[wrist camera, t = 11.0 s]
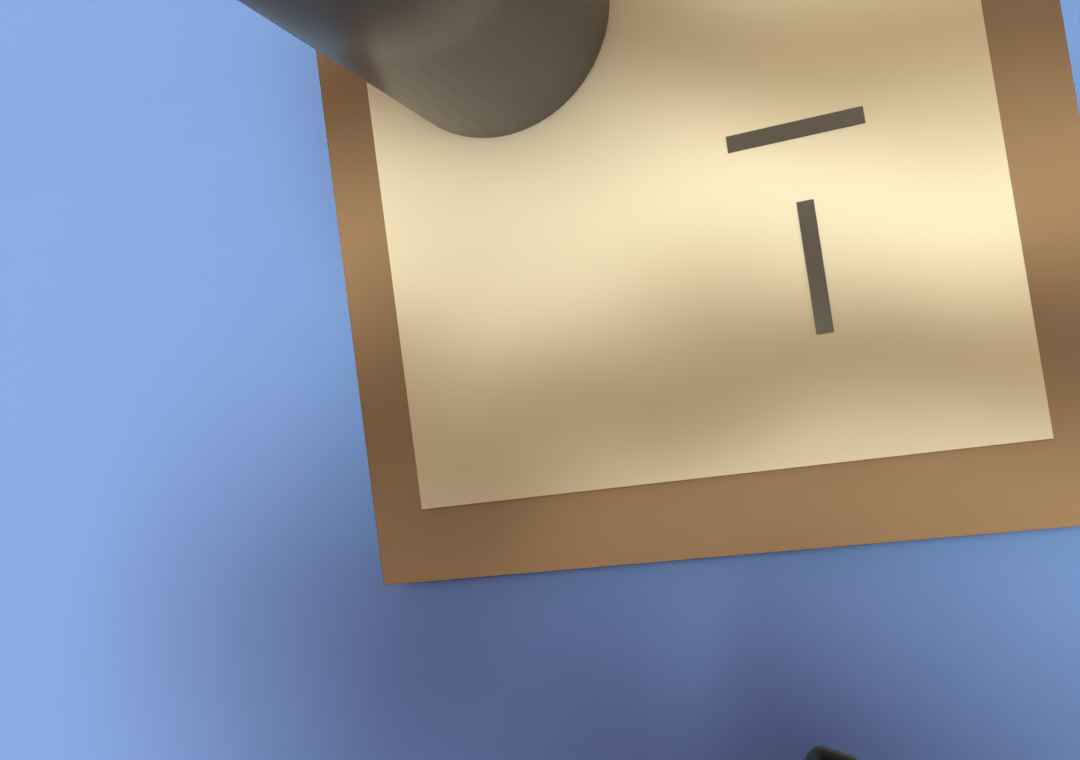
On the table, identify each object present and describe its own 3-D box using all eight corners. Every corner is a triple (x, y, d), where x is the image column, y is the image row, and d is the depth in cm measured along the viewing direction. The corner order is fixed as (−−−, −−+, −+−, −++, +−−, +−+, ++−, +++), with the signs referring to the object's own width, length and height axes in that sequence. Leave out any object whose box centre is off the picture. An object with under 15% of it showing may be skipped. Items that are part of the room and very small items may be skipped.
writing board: (1133, 513, 15) (1154, 521, 14) (401, 577, 20) (378, 587, 19) (946, -581, 16) (953, -643, 15) (289, -293, 21) (262, -327, 20)
